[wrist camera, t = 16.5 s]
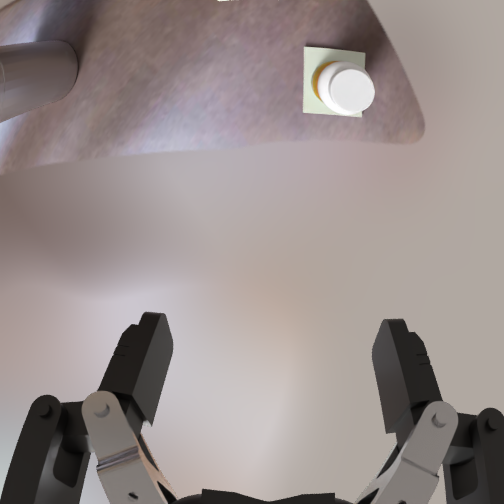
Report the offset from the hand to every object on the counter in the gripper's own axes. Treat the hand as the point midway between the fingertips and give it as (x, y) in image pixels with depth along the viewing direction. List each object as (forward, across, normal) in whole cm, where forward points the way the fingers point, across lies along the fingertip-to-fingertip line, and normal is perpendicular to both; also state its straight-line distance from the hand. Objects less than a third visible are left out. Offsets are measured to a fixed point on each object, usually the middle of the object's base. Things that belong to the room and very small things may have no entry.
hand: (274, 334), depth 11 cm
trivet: (+30, +6, +7) cm, 32 cm away
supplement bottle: (+30, +6, +7) cm, 31 cm away
